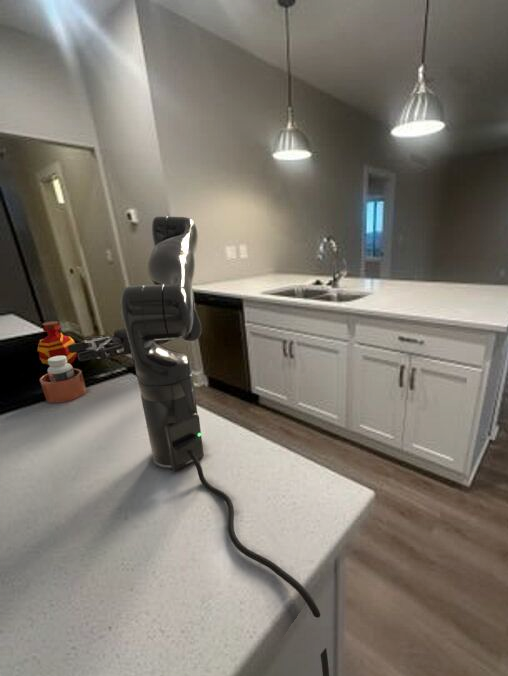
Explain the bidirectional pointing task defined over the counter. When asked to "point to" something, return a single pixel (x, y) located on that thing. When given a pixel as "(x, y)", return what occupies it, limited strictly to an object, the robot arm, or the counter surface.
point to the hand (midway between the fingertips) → (73, 353)
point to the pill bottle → (59, 369)
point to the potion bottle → (55, 344)
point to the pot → (63, 387)
